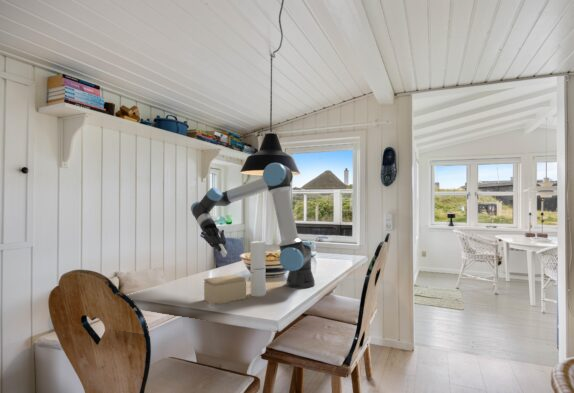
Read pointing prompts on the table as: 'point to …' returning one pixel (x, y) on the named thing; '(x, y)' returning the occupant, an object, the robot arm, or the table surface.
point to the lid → (224, 279)
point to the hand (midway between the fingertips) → (225, 254)
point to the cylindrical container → (257, 268)
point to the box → (224, 292)
